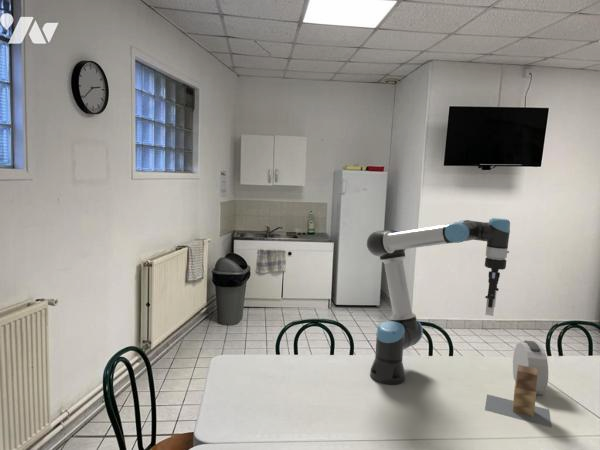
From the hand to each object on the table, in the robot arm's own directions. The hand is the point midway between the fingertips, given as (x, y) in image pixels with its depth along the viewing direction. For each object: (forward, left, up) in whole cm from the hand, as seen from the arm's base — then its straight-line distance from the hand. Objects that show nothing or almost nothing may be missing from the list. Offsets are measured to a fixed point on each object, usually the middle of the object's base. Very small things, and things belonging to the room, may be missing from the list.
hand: (490, 310), depth 168 cm
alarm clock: (+17, +21, -36) cm, 45 cm away
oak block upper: (+15, -4, -31) cm, 34 cm away
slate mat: (+13, -4, -36) cm, 39 cm away
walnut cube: (+15, -4, -26) cm, 30 cm away
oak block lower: (+15, -4, -36) cm, 39 cm away
